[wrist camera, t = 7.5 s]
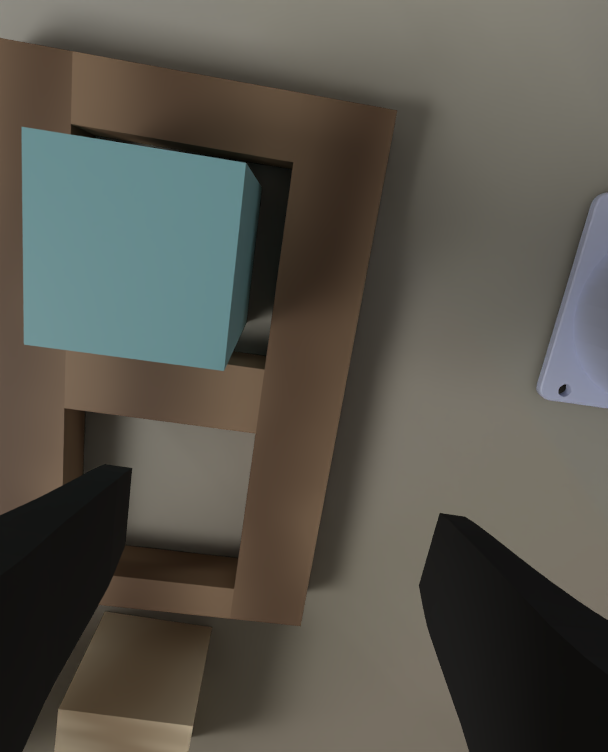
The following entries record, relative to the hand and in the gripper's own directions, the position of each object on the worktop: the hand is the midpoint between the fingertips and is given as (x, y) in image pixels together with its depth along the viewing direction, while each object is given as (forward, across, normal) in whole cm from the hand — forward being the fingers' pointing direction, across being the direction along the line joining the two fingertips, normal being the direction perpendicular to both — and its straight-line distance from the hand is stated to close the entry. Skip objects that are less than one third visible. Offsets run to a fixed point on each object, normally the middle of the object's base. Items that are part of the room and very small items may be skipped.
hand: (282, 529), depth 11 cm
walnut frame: (+9, +4, 0) cm, 10 cm away
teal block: (+9, +5, -5) cm, 12 cm away
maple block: (+7, +4, +12) cm, 14 cm away
